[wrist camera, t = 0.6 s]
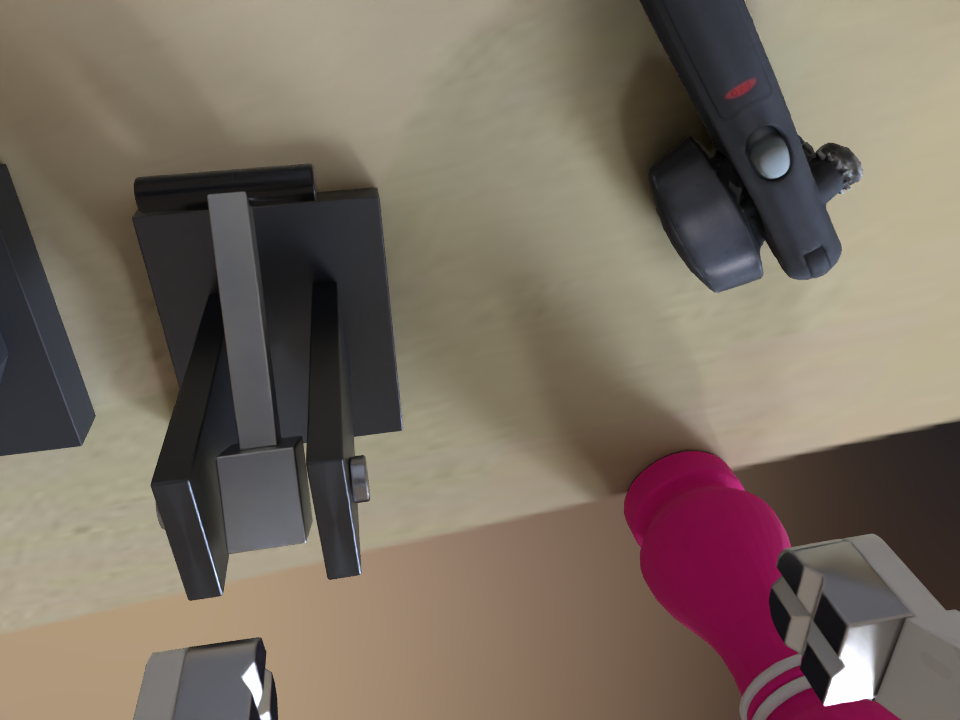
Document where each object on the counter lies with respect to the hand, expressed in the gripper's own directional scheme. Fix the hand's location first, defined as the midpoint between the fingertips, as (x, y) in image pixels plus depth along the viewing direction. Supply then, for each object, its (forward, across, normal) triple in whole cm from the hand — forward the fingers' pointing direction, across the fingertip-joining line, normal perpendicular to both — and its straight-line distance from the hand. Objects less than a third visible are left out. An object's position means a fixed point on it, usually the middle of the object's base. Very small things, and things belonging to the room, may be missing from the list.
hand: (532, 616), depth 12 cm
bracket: (+21, +6, +5) cm, 23 cm away
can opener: (+22, -11, -4) cm, 25 cm away
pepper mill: (+22, -13, +18) cm, 31 cm away
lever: (+13, +6, +2) cm, 15 cm away
